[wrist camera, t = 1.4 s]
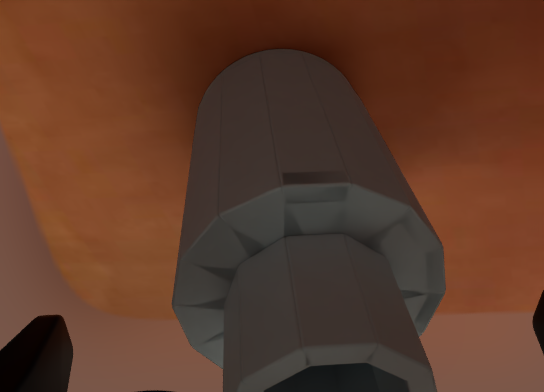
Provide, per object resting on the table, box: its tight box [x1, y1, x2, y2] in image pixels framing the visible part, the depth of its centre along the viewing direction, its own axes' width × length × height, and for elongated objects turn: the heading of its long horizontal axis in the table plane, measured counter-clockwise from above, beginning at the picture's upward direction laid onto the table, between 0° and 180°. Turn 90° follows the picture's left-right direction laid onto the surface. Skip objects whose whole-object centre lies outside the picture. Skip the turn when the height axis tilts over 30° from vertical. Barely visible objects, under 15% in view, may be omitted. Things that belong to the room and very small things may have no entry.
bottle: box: [172, 49, 446, 392], centre depth 12 cm, size 5×5×10 cm
